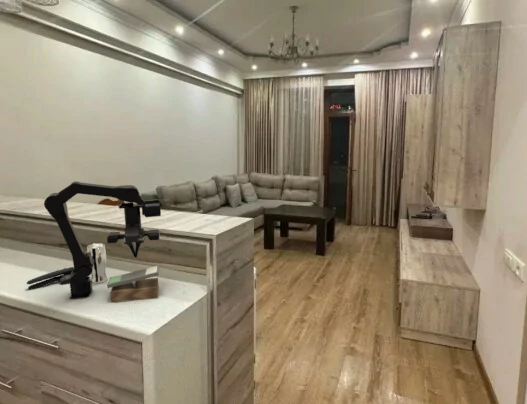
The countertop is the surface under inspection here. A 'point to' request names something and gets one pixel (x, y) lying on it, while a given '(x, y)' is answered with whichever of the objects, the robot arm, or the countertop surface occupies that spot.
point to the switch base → (135, 290)
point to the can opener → (52, 278)
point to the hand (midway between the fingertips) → (135, 257)
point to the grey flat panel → (133, 276)
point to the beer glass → (98, 262)
